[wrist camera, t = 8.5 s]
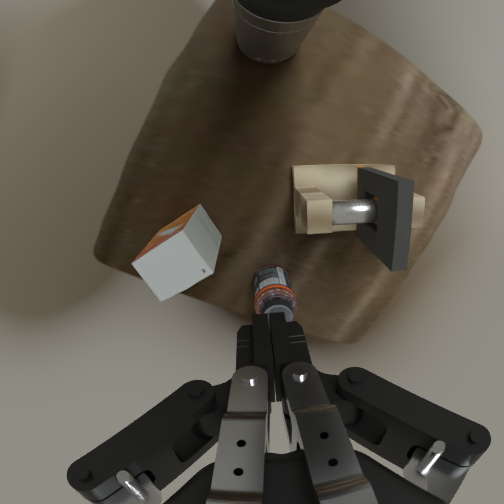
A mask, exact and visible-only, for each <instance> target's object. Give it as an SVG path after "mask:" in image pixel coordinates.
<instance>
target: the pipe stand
mask: <svg viewBox="0 0 504 504" xmlns="http://www.w3.org/2000/svg"><path fill="white" fill-rule="evenodd" d="M357 167H371V168H374V169H378V170H381V171H384V172H387V173H390V174H393V175H395V166H394V165H385V164H330V165H298V166H292V173H293V195H294V222H295V232H296V234H304V233H307V234H318V233H332V232H333V231H349V230H356V228H357V224H362V223H375V224H376V225H377V215H378V197H374V198H373V199H362V200H357ZM424 205H425V197H423V196H421V195H418V194H416V193H414V198H413V213H412V225H411V228H414V227H423V217H424Z"/></svg>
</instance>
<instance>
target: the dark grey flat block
mask: <svg viewBox="0 0 504 504" xmlns="http://www.w3.org/2000/svg"><path fill="white" fill-rule="evenodd" d="M374 197H378V215H377V225H376V224H375V223H362V224H357V228H356V236H357V237H358V238H359V239H360V240H361V241H362V242H363V243H364V244H365V245H366V246H367V247H368V248H369V249H370V250H371V251H372V252H373V253H374V254H375V255H376V256H377V257H378V258H379V259H380V260H381V261H382V262H383V263H384V264H385V265H386V266H387V268H388V269H389V270H390V271H391V272H392V271H400V270H406V268H407V261H408V253H409V245H410V235H411V225H412V213H413V198H414V181H411V180H408V179H405V178H402V177H399V176H396V175H393V174H390V173H387V172H384V171H381V170H378V169H374V168H371V167H357V200H362V199H373V198H374Z"/></svg>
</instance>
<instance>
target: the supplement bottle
mask: <svg viewBox="0 0 504 504" xmlns="http://www.w3.org/2000/svg"><path fill="white" fill-rule="evenodd" d="M253 289H254V306H255V311H256V314H263V313H268V321H269V313H275V312H284V314H285V318H286V322H291V321H292V319H293V315H294V314H295V312H296V309H297V301H296V297H295V293H294V290H293V287H292V284H291V280H290V277H289V275H288V273H287V271H286V270H285V269H284V268H283V267H281V266H278V265H274V264H271V265H266V266H263V267H262V268H260V269H259V270H258V271H257V272H256V274H255V276H254V280H253Z"/></svg>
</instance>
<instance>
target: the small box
mask: <svg viewBox="0 0 504 504" xmlns="http://www.w3.org/2000/svg"><path fill="white" fill-rule="evenodd" d="M221 239H222V235H221V234H220V232H219V231H218V229H217V228H216V226H215V225H214V223H213V222H212V220H211V219H210V217H209V216H208V214H207V213H206V211H205V210H204V208H203V207H202V205H201V204H198V205H197V206H195V207H194V208H193V209H191V210H190V211H188V212H187V213H185V214H183V215H182V216H181V217H179V218H177V219H176V220H174V221H173V222H171V223H170V224H168V225H167V226H165V227H164V228H162V229H161V230H159V232H158V233H157V234H156V235H155V236H154V237H153V239H152V240H151V241H150V242H149V243H148V244H147V246H146V247H145V248H144V249H143V250H142V252H141V253H140V254H139V255H138V256H137V257H136V259H135V260H134V261H133V262H132V265H133V266H134V268H135V269H136V270H137V272H138V273H139V274H140V276H141V277H142V278H143V279H144V281H145V282H146V283H147V285H148V286H149V287H150V289H151V290H152V291H153V292H154V294H155V295H156V297H157V298H158V299H159V300H160V302H163V301H165V300H167V299H169V298H171V297H173V296H174V295H176V294H178V293H180V292H182V291H184V290H186V289H188V288H189V287H191V286H193V285H194V284H196V283H197V282H199V281H201V280H203V279H204V278H206V277H208V276H209V275H211V274H213V273H214V269H215V265H216V260H217V256H218V252H219V247H220V243H221Z"/></svg>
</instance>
